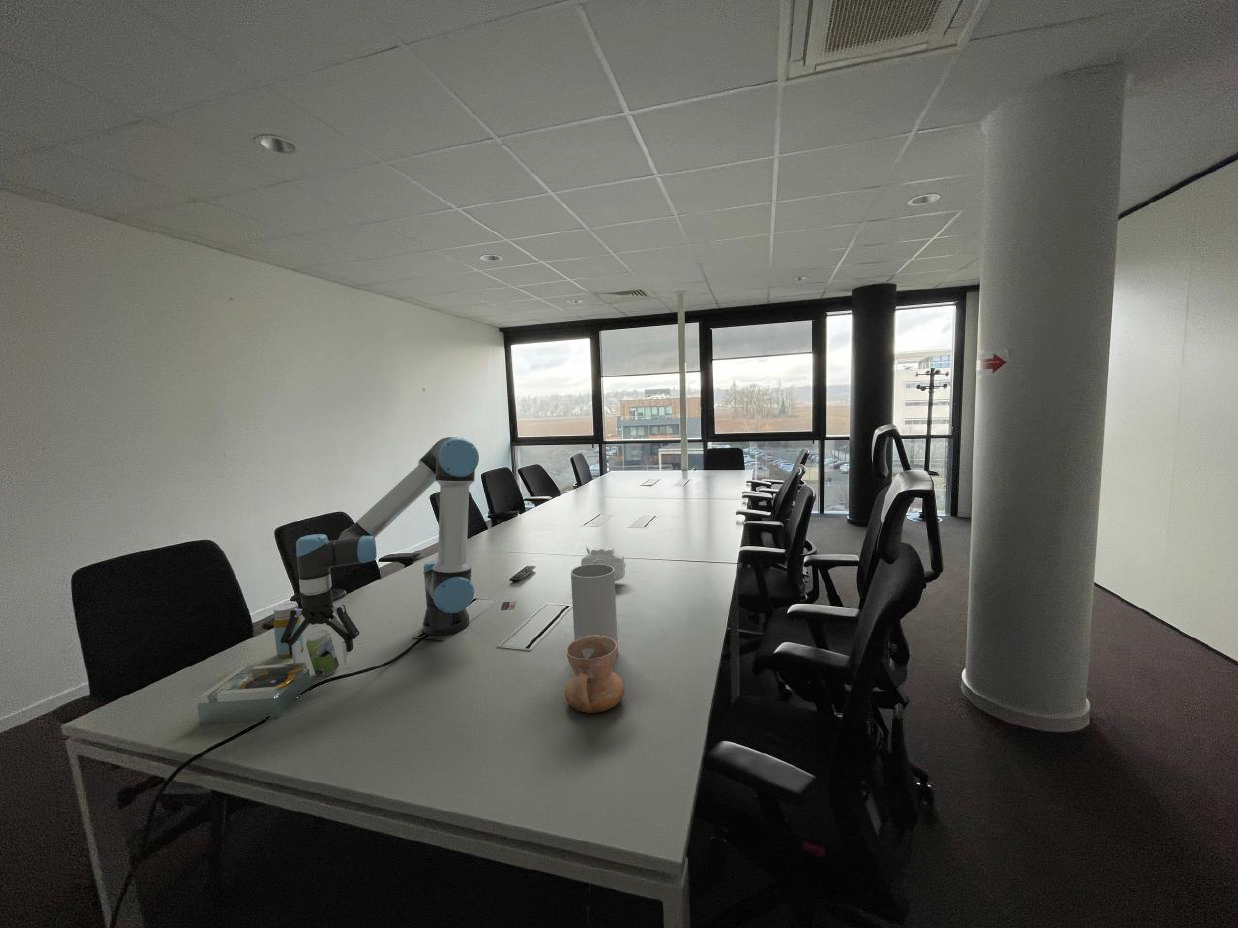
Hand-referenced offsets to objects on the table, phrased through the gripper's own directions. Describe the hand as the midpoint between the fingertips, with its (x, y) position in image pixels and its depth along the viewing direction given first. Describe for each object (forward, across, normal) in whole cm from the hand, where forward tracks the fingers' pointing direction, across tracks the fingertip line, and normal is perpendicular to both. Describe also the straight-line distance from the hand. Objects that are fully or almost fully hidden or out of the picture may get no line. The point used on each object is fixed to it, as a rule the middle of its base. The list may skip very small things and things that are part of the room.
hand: (322, 664), depth 139 cm
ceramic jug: (+2, -76, +25) cm, 80 cm away
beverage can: (+3, 0, 0) cm, 3 cm away
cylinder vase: (+2, -77, 0) cm, 77 cm away
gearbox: (+3, +9, +14) cm, 17 cm away
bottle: (+3, +18, -15) cm, 24 cm away
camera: (+2, -81, -60) cm, 101 cm away
